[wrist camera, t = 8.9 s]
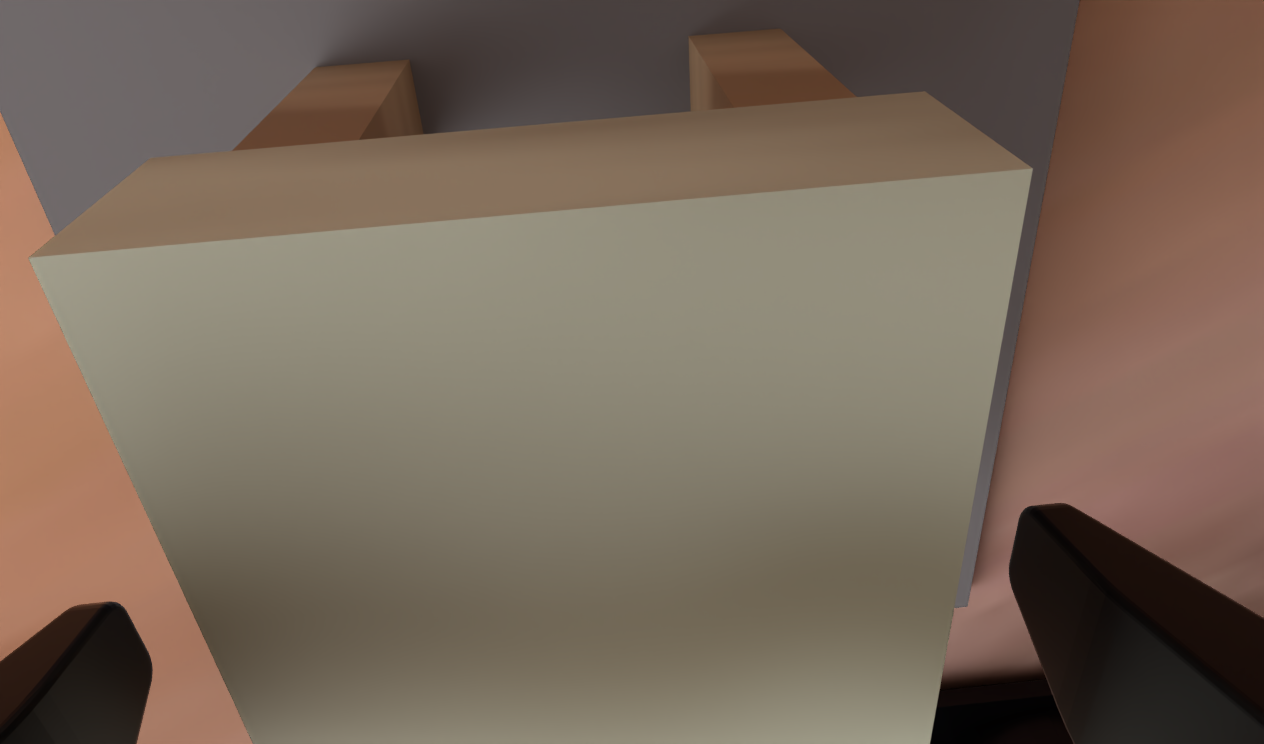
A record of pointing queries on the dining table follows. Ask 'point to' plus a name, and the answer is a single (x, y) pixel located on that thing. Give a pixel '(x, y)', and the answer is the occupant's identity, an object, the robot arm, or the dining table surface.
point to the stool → (562, 405)
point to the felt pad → (502, 82)
